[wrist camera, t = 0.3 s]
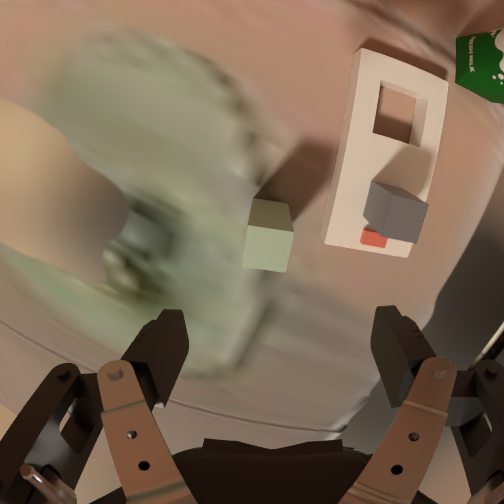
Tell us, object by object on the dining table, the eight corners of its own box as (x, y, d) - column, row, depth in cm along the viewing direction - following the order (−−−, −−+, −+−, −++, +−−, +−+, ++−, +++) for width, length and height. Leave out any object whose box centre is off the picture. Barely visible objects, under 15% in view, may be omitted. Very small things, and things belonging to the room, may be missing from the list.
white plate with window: (353, 53, 25) (382, 33, 17) (435, 83, 25) (479, 79, 17) (320, 233, 34) (335, 270, 26) (398, 247, 34) (428, 283, 26)
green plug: (252, 197, 33) (247, 225, 25) (287, 203, 33) (294, 232, 25) (248, 230, 35) (241, 266, 26) (281, 235, 35) (285, 272, 27)
